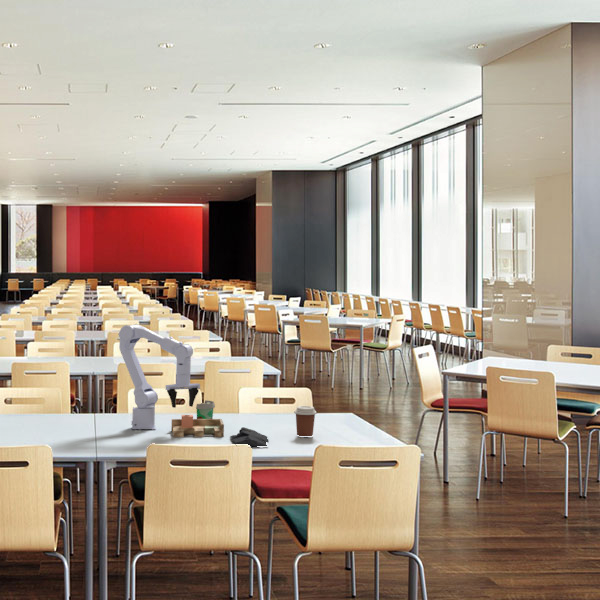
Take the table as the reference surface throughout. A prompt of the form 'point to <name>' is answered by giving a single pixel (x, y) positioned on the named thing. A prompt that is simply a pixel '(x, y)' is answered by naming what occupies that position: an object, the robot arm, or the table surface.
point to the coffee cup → (305, 420)
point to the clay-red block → (187, 421)
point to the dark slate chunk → (249, 438)
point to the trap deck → (199, 428)
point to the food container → (205, 410)
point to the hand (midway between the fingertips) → (182, 406)
